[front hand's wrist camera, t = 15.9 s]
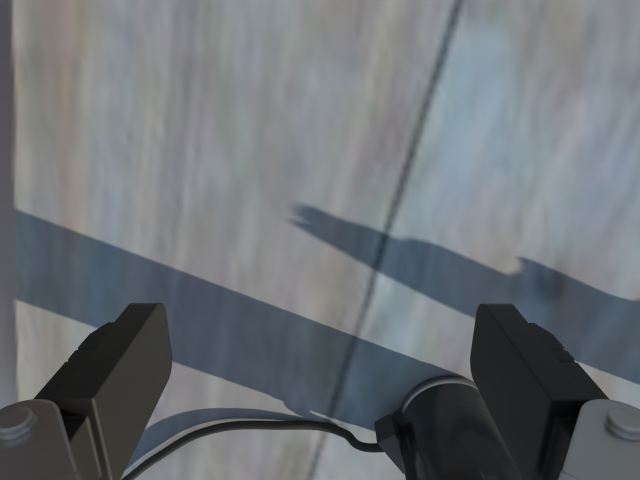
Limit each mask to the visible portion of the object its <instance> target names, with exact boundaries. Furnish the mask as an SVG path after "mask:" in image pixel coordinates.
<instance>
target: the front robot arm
mask: <svg viewBox="0 0 640 480" xmlns="http://www.w3.org/2000/svg"><path fill="white" fill-rule="evenodd" d="M470 366H471V373H472V377H473V380H474V382H473V381H471V380H468V379H465V378H461V377H454V376H446V377H439V378H434V379H431V380H428V381H426V382H424V383H422V384H420V385H419V386H417V387H416V388H414V389H413V390H412V391H411V392H410V393H409V394H408V396H407V397H406V398H405V400H404V402H403V404H402V407H401V409H399V410H398V411H396V412H394V413H393V416H394V417H393V416H392V414H389V415H387V416H385V417H383V418H382V419H380V420H378V421H376V422H375V430H376V438H377V443H363V442H360V441H358V440H357V439H356V438H355V437H354V435H353V434H352V433H351V432H349V431H348V430H346V429H343V428H341V427H338V426H335V425H331V424H327V423H321V422H312V421H234V422H226V423H220V424H216V425H212V426H208V427H205V428H202V429H199V430H196V431H194V432H191V433H189V434H187V435H185V436H183V437H181V438H180V439H178V440H176V441H175V442H173V443H172V444H170V445H168V446H167V447H165V448H164V449H162V450H161V451H159V452H158V453H156V454H154V455H153V456H151V457H150V458H148V459H147V460H145V461H144V462H143V463H141V464H140V465H139V466H138V467H137V468H135V469H134V470H133V471H132V472H130V473H129V474H128V475H127V476H125V477H124V478H123V479H121V477H122V475H123V473H124V471H125V468H126V466H127V464H128V462H129V460H130V458H131V456H132V454H133V452H134V450H135V448H136V446H137V444H138V442H139V440H140V438H141V436H142V433H143V431H144V429H145V427H146V425H147V423H148V421H149V419H150V417H151V415H152V413H153V411H154V409H155V407H156V405H157V403H158V401H159V398H160V396H161V394H162V392H163V390H164V388H165V386H166V384H167V382H168V380H169V377H170V373H171V368H172V352H171V345H170V338H169V331H168V324H167V317H166V311H165V307H164V305H163V304H162V303H131V304H129V305H128V306H127V308H126V309H125V310H124V311H123V313H122V314H121V315H120V316H119V318H118V319H117V320H116V321H115V322H108V323H106V324H105V325H103V326H102V327H100V328H99V329H97V330H95V331H94V332H92V333H91V334H89V336H88V337H87V338H86V339H85V340H84V341H83V342H82V344H81V345H80V346H79V347H78V350H76V351H75V352H74V353H73V354H72V355H71V356H70V357H69V359H68V362H65V363H64V364H63V366H62V367H61V368H60V369H59V370H58V371H57V372H56V374H55V375H54V376H53V377H52V378H51V379H50V381H49V382H48V383H47V384H46V385H45V386H44V387H43V389H42V390H41V391H40V392H39V393H38V394H37V396H36V397H35V398H34V399H32V400H26V401H21V402H18V403H15V404H12V405H9V406H7V407H4V408H2V409H0V480H120V479H121V480H134V479H135V478H136V477H138V476H139V475H140V474H141V473H142V472H144V471H145V470H146V469H148V468H149V467H150V466H152V465H153V464H155V463H156V462H158V461H159V460H161V459H163V458H164V457H166V456H167V455H169V454H170V453H172V452H174V451H175V450H177V449H178V448H180V447H182V446H183V445H185V444H187V443H189V442H191V441H193V440H195V439H197V438H200V437H203V436H206V435H209V434H213V433H217V432H222V431H229V430H239V429H271V430H319V431H325V432H329V433H333V434H336V435H339V436H341V437H344V438H345V439H346V440H347V441H348V442H349V443H350V444H351V445H352V446H353V447H354V448H356V449H358V450H361V451H364V452H385V453H386V454H387V455H388V456H389V458H390V459H391V460H392V461H393V462H394V463H395V465H396V466H397V467H398V468H399V469H400V470H401V472H402V473H403V474H405V478H406V480H640V409H638V408H636V407H633V406H631V405H628V404H625V403H622V402H619V401H614V400H610V399H609V398H608V397H607V396H606V395H605V394H604V393H603V391H602V390H601V389H600V388H599V387H598V386H597V385H596V383H595V382H594V381H593V380H592V379H591V378H590V377H589V375H588V374H587V373H586V372H585V371H584V370H583V369H582V367H581V366H580V365H579V364H578V363H575V359H574V358H573V357H572V356H571V355H570V354H569V353H568V351H565V348H564V347H563V346H562V345H561V343H560V342H559V341H558V340H557V339H556V338H555V337H554V335H552V334H551V333H549V332H548V331H546V330H544V329H543V328H541V327H540V326H538V325H537V324H535V323H528V322H527V321H526V320H525V319H524V317H523V316H522V315H521V314H520V313H519V311H518V310H517V309H516V308H515V306H514V305H512V304H480V305H479V307H478V309H477V313H476V320H475V327H474V334H473V341H472V348H471V355H470Z"/></svg>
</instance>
